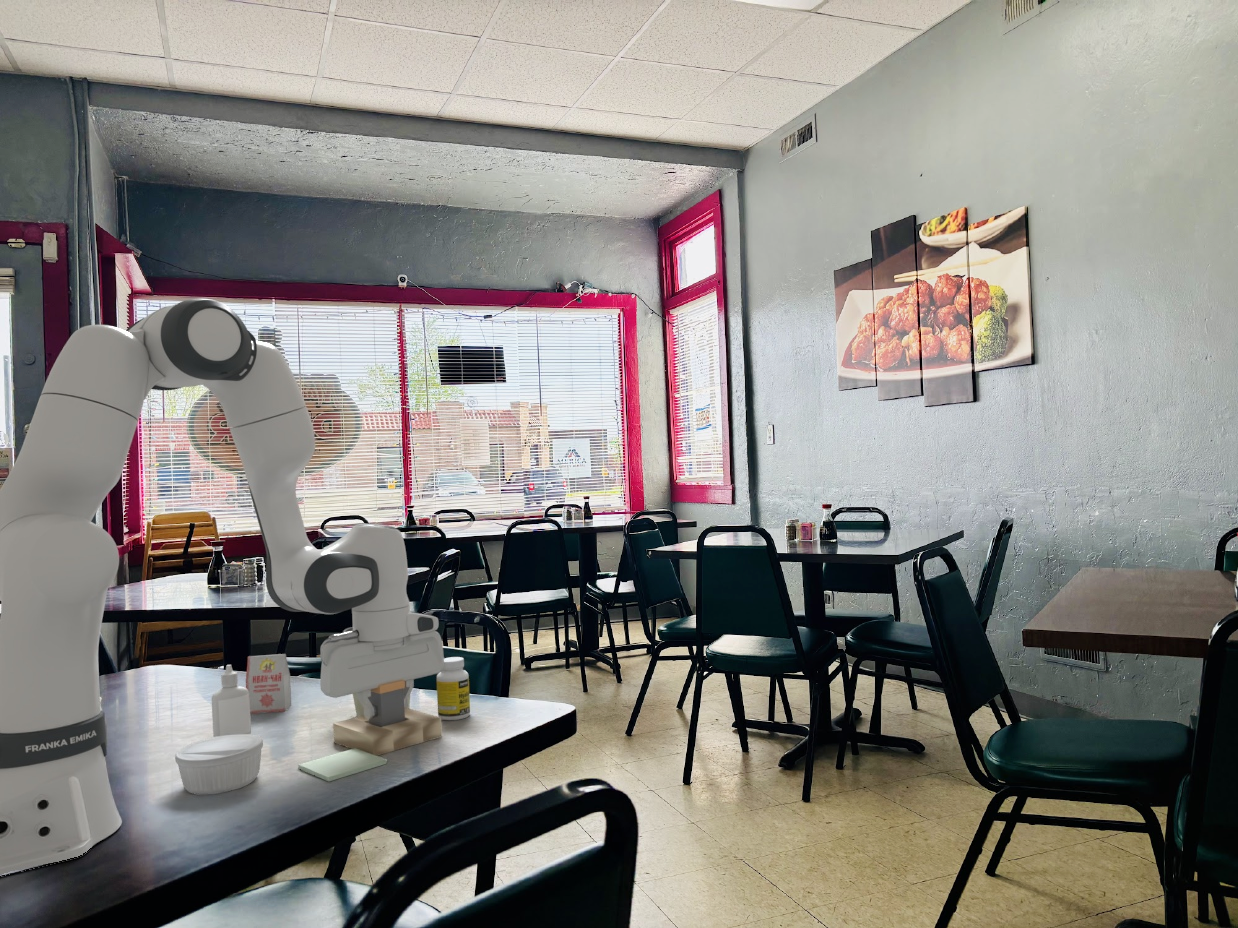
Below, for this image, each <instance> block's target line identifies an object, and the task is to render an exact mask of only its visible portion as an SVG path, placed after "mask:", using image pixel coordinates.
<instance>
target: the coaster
mask: <svg viewBox="0 0 1238 928" xmlns="http://www.w3.org/2000/svg"><path fill="white" fill-rule="evenodd" d="M387 763H388V762H387V759H386V758H383V757H381V756H379V755H378V756H375V755H373V754H370V753H367V752H364V751H362V750H359V749H356V748H354V749H351V748H349V749H348V750H344V751H340V752H336V753H334V754H331V755H326V756H322V757H320V758H317V759H313V760H310V761H306V762H303V763H298V764H297V765H298V766H297V767H298V769H299V770H300V769H301V771H302V772H306V773H307V772H308V774H310V775H312V776H314V775H315V776H314V777H317V778H319V779H321V780H324V781H326V782H331V781H335V780H339V779H342V778H344V777H347V776H351V775H354V774H358V773H361V772H364V771H367V770H370V769H373V768H377V767H380V766H385V765H387Z"/></svg>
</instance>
